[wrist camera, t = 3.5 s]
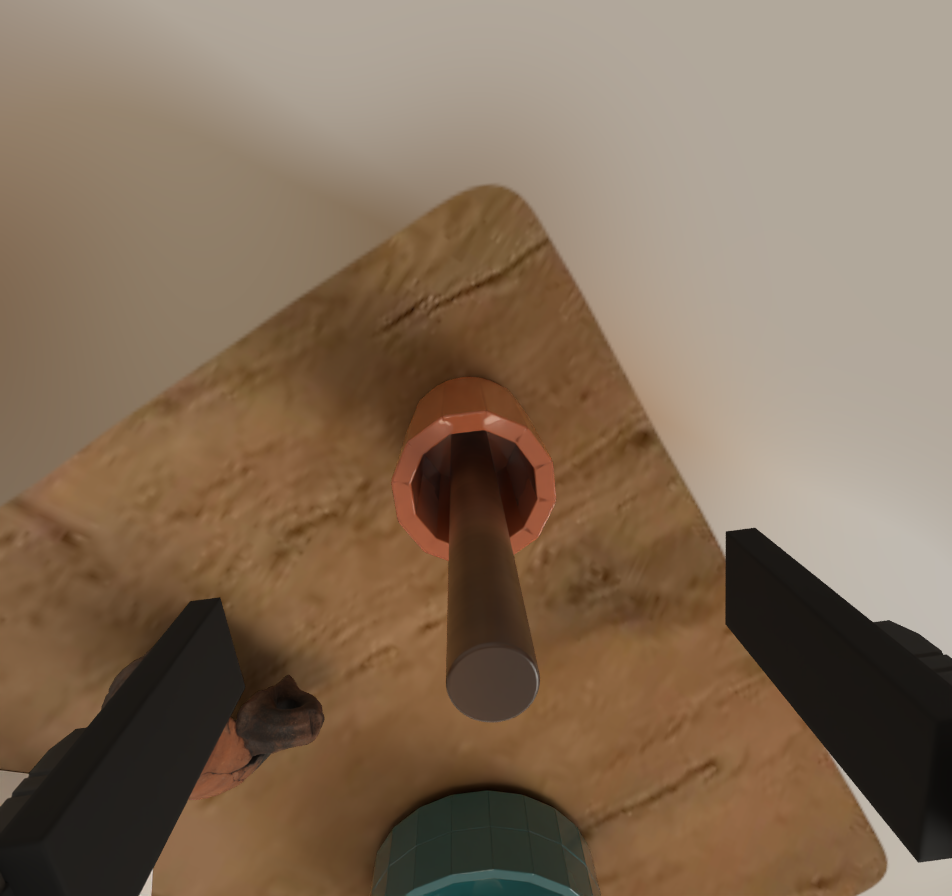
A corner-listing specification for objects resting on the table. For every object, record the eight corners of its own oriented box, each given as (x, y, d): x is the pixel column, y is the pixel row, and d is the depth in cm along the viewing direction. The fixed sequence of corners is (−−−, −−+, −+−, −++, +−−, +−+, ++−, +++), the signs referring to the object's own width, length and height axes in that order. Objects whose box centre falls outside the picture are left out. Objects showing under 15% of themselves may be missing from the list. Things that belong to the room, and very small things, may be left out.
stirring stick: (485, 418, 31) (536, 638, 12) (489, 453, 31) (544, 718, 12) (448, 422, 31) (439, 650, 12) (453, 457, 31) (452, 729, 12)
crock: (522, 369, 31) (547, 402, 22) (533, 482, 33) (561, 554, 24) (401, 384, 31) (380, 423, 22) (419, 497, 33) (406, 574, 24)
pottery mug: (201, 763, 38) (83, 825, 30) (197, 617, 39) (84, 639, 32) (362, 762, 34) (277, 831, 27) (351, 603, 36) (267, 624, 28)
